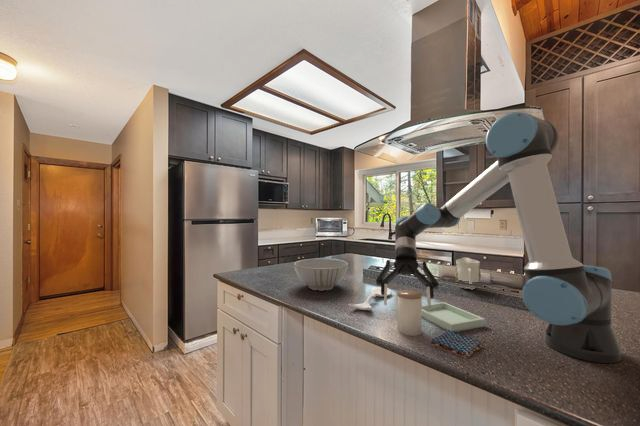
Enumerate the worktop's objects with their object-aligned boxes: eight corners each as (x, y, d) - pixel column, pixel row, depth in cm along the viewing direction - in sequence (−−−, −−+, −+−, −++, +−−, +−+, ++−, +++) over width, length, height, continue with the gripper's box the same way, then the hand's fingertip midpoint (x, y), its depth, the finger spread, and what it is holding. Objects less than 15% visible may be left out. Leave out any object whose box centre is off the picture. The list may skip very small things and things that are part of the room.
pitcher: (457, 293, 128) (457, 263, 128) (453, 283, 145) (453, 256, 145) (484, 295, 125) (484, 264, 125) (477, 285, 142) (477, 257, 141)
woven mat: (428, 345, 80) (428, 338, 80) (447, 335, 86) (447, 328, 86) (465, 361, 72) (465, 353, 72) (483, 348, 78) (483, 341, 78)
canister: (427, 333, 87) (427, 294, 86) (407, 337, 84) (406, 297, 84) (411, 324, 93) (411, 288, 93) (392, 327, 91) (392, 290, 91)
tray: (485, 326, 92) (485, 318, 92) (451, 332, 87) (451, 324, 87) (443, 308, 108) (443, 301, 108) (413, 313, 104) (413, 306, 104)
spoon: (346, 312, 106) (346, 303, 106) (375, 291, 133) (375, 283, 133) (369, 317, 101) (369, 307, 101) (394, 294, 129) (394, 286, 129)
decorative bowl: (330, 299, 121) (330, 271, 121) (282, 289, 135) (282, 264, 135) (357, 285, 143) (357, 261, 143) (314, 278, 158) (313, 256, 158)
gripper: (440, 259, 104) (447, 314, 90) (372, 256, 111) (368, 307, 97) (442, 246, 99) (450, 302, 85) (371, 244, 106) (367, 296, 91)
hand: (406, 305), depth 91 cm, fingers open, 13 cm apart
